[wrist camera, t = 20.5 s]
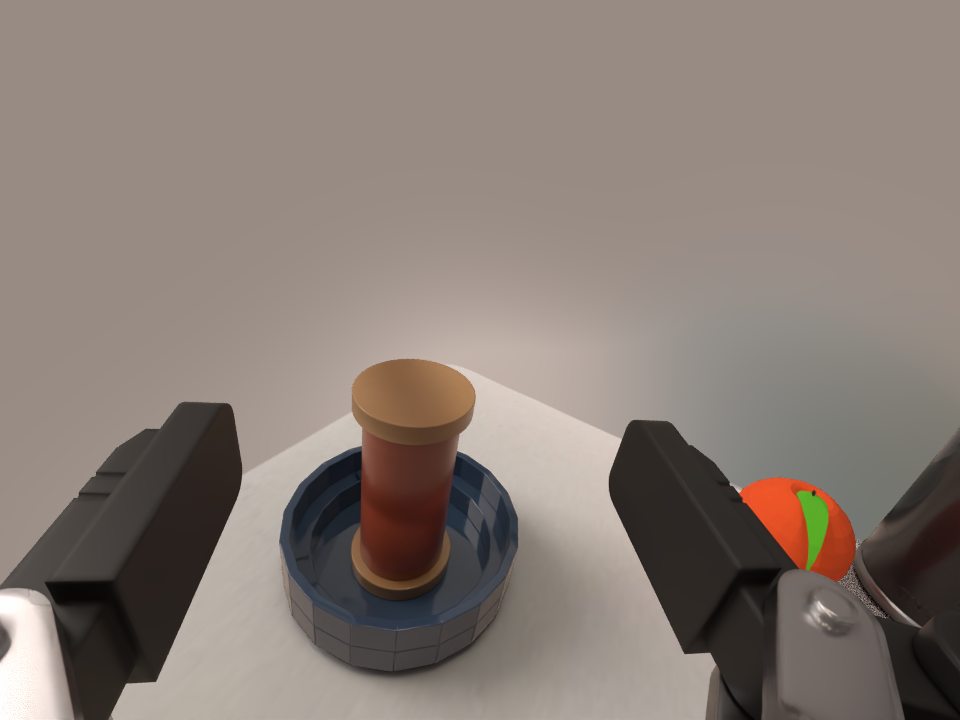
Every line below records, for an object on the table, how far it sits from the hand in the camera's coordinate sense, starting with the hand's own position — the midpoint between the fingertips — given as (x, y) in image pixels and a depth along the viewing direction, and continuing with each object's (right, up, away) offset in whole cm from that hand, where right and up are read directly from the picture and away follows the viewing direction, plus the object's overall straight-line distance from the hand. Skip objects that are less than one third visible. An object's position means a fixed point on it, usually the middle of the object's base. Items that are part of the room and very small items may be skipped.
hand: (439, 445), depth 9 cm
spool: (-4, -10, +18) cm, 21 cm away
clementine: (+20, -13, +22) cm, 32 cm away
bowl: (-4, -10, +18) cm, 22 cm away
